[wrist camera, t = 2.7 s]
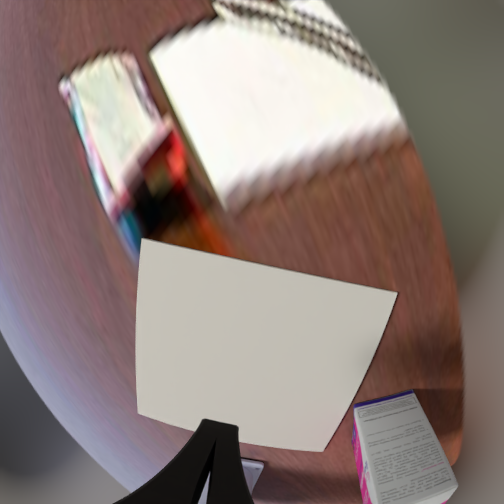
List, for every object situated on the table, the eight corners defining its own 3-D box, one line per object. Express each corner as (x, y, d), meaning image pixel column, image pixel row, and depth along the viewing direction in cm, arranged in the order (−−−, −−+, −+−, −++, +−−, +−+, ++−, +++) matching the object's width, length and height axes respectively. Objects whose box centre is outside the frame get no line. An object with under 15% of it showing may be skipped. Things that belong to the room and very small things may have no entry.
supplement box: (350, 403, 20) (379, 515, 9) (413, 387, 20) (464, 482, 9) (348, 443, 22) (367, 539, 10) (404, 428, 21) (439, 514, 10)
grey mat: (322, 449, 22) (322, 451, 22) (139, 411, 23) (138, 413, 22) (395, 291, 18) (397, 293, 18) (143, 237, 19) (141, 238, 18)
